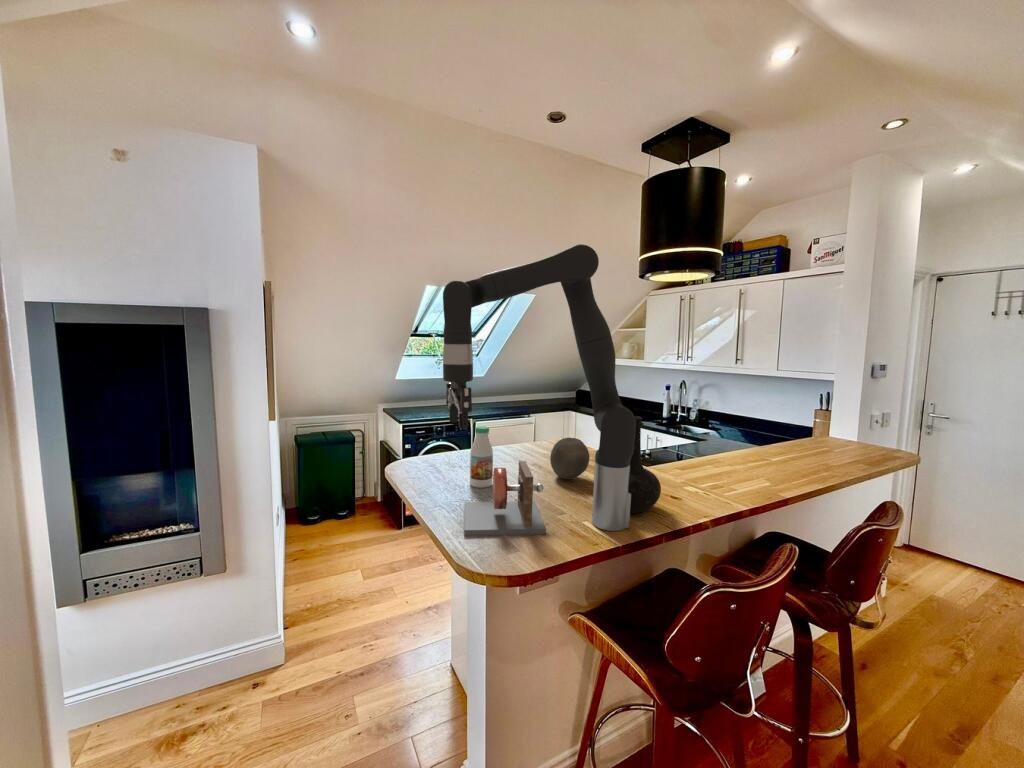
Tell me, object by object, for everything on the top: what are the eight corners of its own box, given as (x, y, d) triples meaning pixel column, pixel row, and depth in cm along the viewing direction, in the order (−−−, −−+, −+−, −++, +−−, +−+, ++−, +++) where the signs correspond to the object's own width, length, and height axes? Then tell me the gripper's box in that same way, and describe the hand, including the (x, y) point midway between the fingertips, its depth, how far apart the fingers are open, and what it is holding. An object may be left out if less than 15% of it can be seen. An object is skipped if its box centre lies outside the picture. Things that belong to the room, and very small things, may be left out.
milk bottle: (465, 484, 141) (466, 426, 139) (482, 479, 147) (483, 423, 145) (479, 490, 136) (480, 430, 134) (496, 485, 141) (498, 427, 139)
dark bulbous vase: (617, 522, 115) (623, 423, 112) (588, 498, 132) (592, 411, 129) (672, 517, 119) (679, 421, 116) (637, 494, 136) (643, 410, 133)
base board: (534, 506, 124) (534, 501, 124) (546, 534, 107) (546, 528, 106) (464, 507, 122) (464, 502, 122) (464, 535, 104) (464, 530, 104)
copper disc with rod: (539, 499, 121) (540, 462, 119) (546, 515, 110) (548, 475, 109) (492, 499, 119) (493, 462, 118) (495, 516, 108) (496, 475, 107)
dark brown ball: (545, 482, 145) (547, 440, 144) (553, 470, 159) (555, 432, 157) (586, 487, 141) (588, 445, 140) (590, 475, 155) (592, 436, 153)
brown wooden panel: (524, 504, 122) (525, 461, 120) (531, 525, 108) (533, 477, 107) (515, 504, 122) (516, 461, 120) (521, 525, 108) (523, 477, 106)
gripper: (481, 363, 99) (481, 429, 101) (463, 360, 112) (464, 419, 114) (451, 364, 96) (451, 432, 98) (436, 361, 109) (437, 421, 111)
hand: (458, 425), depth 106 cm, fingers open, 8 cm apart
